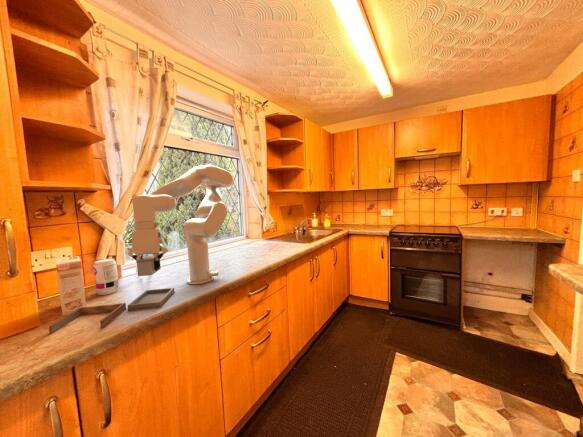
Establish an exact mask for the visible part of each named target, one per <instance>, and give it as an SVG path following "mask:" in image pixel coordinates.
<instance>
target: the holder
mask: <svg viewBox="0 0 583 437" xmlns="http://www.w3.org/2000/svg"><path fill="white" fill-rule="evenodd" d="M126 310H127V304H126V302H121V303H111V304H99V305H91V306H90V305H89V306H86V307H80V308H78V309H77V310H75V311H73V312H72V313H70V314H68V315H65V316H62V318H60V319H58V320H56V321H55V322H54V323H52V324H50V325H48V332H49V334H50V335H52V334H54V333H55V332H57V331H59V330H60V329H61V328H64V327H65V326H67V325H68V324H69V323H71V322H73V321H74V320H76V319H77V318H79V317H81V316H82V315H90V314H91V315H92V314H100V313H108V314H107V315H106V316H104V317H103V318H102V319H100V320H99V322H100V329H104V328H105V327H106V326H108V325H109V324H110V323H111V322H113V321H114V320H116V318H118V317H119V316H120V315H122V314H123V312H124V311H126Z"/></svg>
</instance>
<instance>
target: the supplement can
mask: <svg viewBox="0 0 583 437" xmlns="http://www.w3.org/2000/svg"><path fill="white" fill-rule="evenodd" d="M92 266H93V273H94V274H93V275H94V282H95V292H96V294H97V295H99V296H106V295H110V294H114V293H116V292H118V290H119V289H120V286H119V276H118V266H117V261H116V260H115V259H114V258H105V259H100V260H95V261H94V263H93V265H92Z"/></svg>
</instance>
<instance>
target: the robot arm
mask: <svg viewBox="0 0 583 437" xmlns="http://www.w3.org/2000/svg"><path fill="white" fill-rule="evenodd" d="M233 183H234V176H233V174H232V173H231V172H230V171H228V170H226V169H223V168H221V167H219V166H215V165H213V164H205V165H197V166H194V167H192V168H191V169H189V170H188V171H187V172H186V173H184V174H182V175H181V176H180V177H178V178H177V179H175V180H171V181H170V182H169V183H166V184H164V185H163V186H160V187H158V188H157V189H155V190H154V191H151V193H149V194H138V195H134V196H133V197H132V209H133V221H134V229H133V230H132V238H131V242H132V243H131V246H132V247H131V248H130V250H129V252H127V255H128V256H129V257H131V258H132V259H134V260H135V262H136V261H138V260H140V259H142V258H144V255H152V256H154V258H155V261H154V267H155V271H157V270H158V269H159V268H160V266H161V259H162V258H163V257H164V255H166V254H167V253H168V252H169V250H168V249H167V247H165V246H164V243H163V238H162V233H161V230H160V228H159V227H160V225H161V222H158V220H157V214H156V213H168V212H172V211H173V210H175V208H176V206H177V201H176V199H178V198H181V197H186V196H188V195H190V194H191V193H193V192H194V191H195V190H196V189H198V188H199V187H200V186H201V185H202V184H204V186H205V189H206V194H205V197H204V198H203V199H202V201H201V203H199V206H198V208H197V209H196V216H197V218H196V217H195V218H190V219H188V220H186V221H185V223H184V225H183V232H184V237H185V239H186V244H187V259H188V268H189V269H188V270H189V277H188V278H187V279H186V283H187V284H189V285H202V284H206V283H209V282H211V281H213V280H214V277H219V273H220V272H219V271H212V269H211V268H210V259H209V246H208V245H209V244H208V241H207V239H211V238H214V237H216V235H217V234H218V233H219V231H220V229H221V228H222V226H223V224H224V222H225V220H226V218H227V216H228V215H227V214H228V209H227V208H228V207H227V206H226V204H225V203H224V202H222V200H223V197H222V194H221V191H220V189H222V188H228V187H230V186H232V185H233ZM158 226H159V227H158ZM160 252H161V253H160ZM158 271H159V270H158ZM158 271H157V272H158Z"/></svg>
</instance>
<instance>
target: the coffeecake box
mask: <svg viewBox="0 0 583 437" xmlns="http://www.w3.org/2000/svg"><path fill="white" fill-rule="evenodd" d="M55 260H56V261H55V264H56V265H55V266H56V273H57V284H58V290H59V300H60V308H61V312H62V313H61V315H62V317H65V316H67V315H68V314H70V313H72V312H73V311H75V310H77V309H78V308H80V307H87V303H86V294H85V286H84V285H85V284H84V278H83V277H84V275H83V268H82V260H81V257H80V256H79V255H74V256H67V257H66V256H65V257H61V258H56V259H55Z"/></svg>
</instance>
